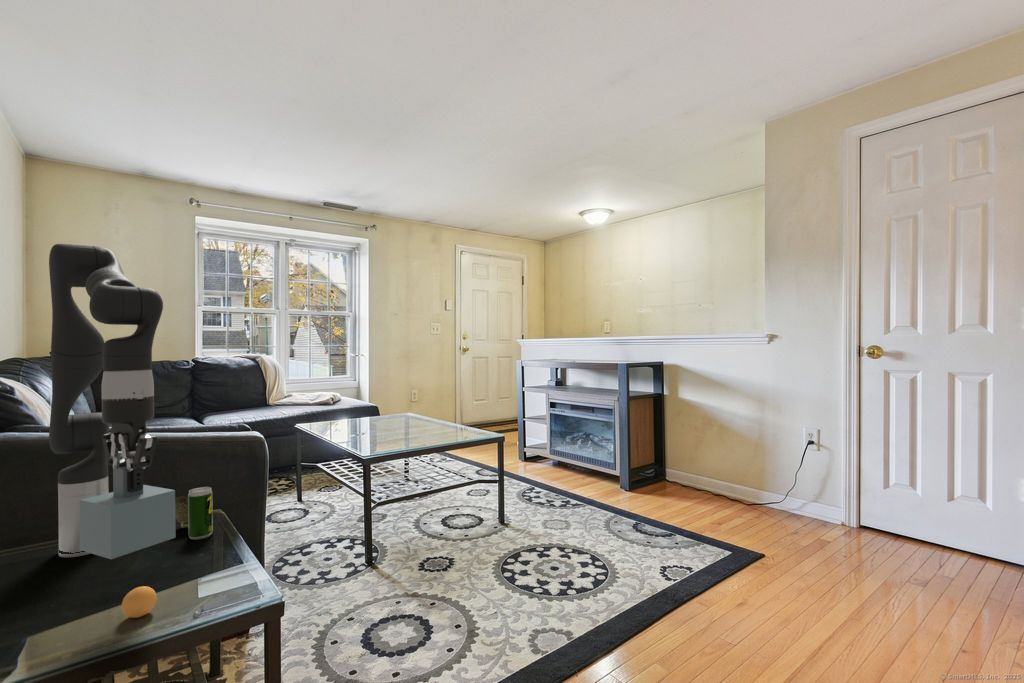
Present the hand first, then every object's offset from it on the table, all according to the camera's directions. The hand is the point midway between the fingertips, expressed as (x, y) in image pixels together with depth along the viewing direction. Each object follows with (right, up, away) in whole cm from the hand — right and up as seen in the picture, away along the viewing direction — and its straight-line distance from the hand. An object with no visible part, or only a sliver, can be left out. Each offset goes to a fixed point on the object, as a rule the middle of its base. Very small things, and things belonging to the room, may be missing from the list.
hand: (129, 489), depth 88 cm
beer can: (-11, -24, +37) cm, 46 cm away
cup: (-19, -24, +44) cm, 54 cm away
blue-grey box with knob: (0, -10, 0) cm, 10 cm away
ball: (+2, -20, -1) cm, 20 cm away
